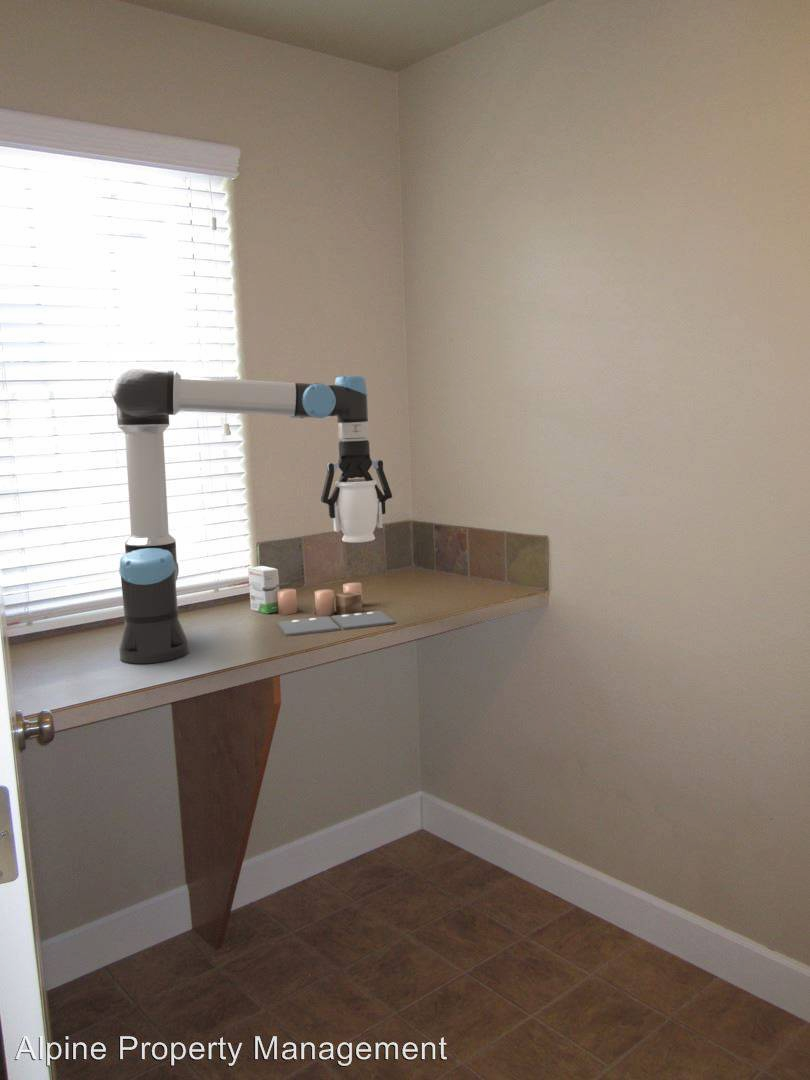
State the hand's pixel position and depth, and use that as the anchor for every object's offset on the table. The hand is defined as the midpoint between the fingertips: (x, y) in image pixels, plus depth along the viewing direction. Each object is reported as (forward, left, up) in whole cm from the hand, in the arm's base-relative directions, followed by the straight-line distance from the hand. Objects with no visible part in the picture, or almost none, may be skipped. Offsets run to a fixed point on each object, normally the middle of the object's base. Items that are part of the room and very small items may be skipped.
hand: (358, 529), depth 221 cm
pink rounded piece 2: (+2, +18, -23) cm, 29 cm away
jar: (0, 0, -3) cm, 3 cm away
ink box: (-21, +24, -24) cm, 40 cm away
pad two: (-14, 0, -23) cm, 27 cm away
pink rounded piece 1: (-7, +13, -24) cm, 28 cm away
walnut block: (-1, +11, -24) cm, 26 cm away
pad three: (0, 0, -23) cm, 23 cm away
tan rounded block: (-16, +19, -24) cm, 34 cm away
